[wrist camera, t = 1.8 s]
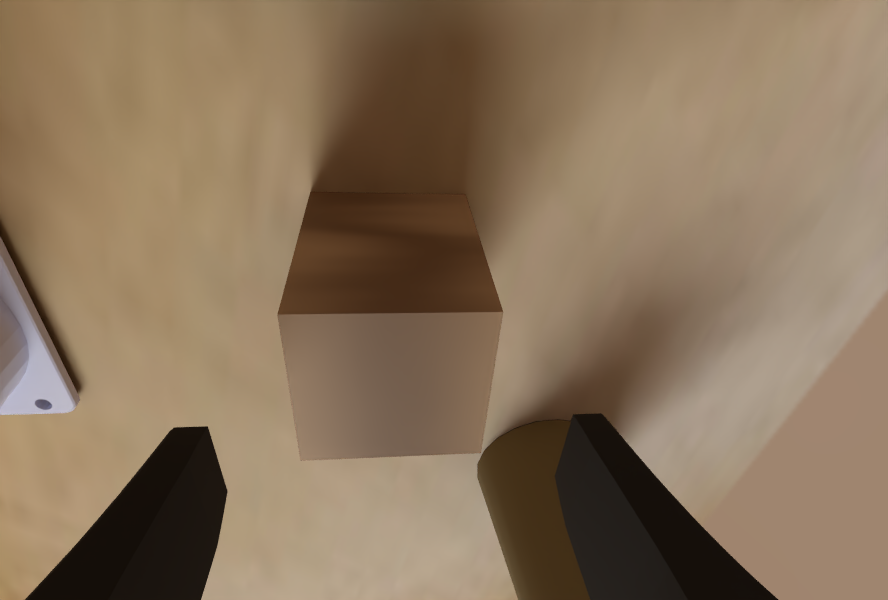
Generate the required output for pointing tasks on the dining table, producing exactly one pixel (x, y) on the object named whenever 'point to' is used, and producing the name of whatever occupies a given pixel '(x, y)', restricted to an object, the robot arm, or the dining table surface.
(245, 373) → the dining table surface
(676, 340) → the dining table surface
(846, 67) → the dining table surface
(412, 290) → the block
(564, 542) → the cork
